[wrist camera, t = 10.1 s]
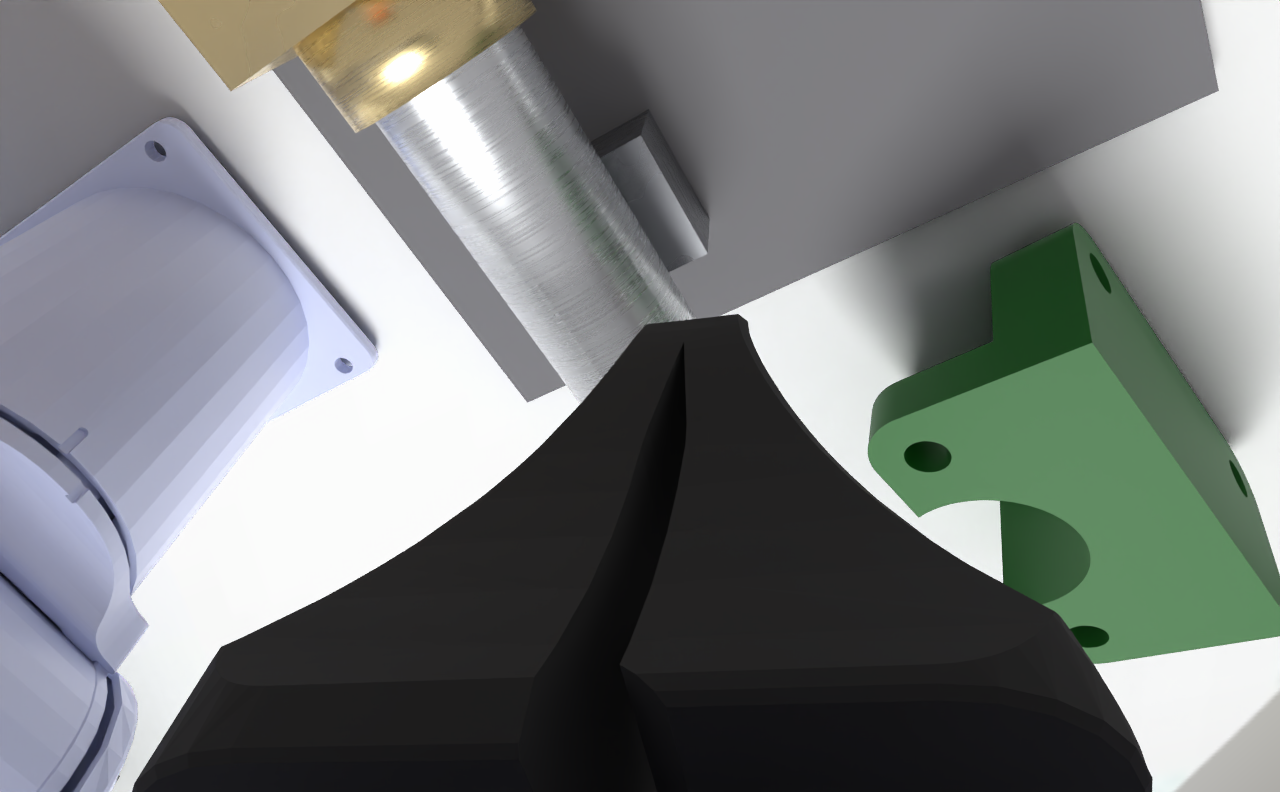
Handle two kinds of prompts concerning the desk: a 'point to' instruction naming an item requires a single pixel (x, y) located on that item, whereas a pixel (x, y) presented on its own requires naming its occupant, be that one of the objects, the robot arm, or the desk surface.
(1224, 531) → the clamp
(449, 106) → the pipe and valve
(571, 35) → the pipe mat
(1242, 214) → the desk surface
